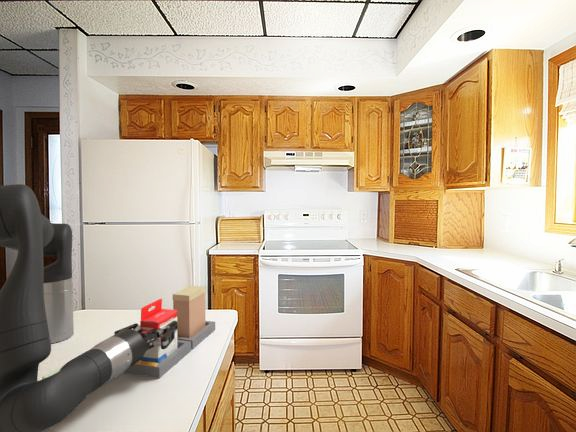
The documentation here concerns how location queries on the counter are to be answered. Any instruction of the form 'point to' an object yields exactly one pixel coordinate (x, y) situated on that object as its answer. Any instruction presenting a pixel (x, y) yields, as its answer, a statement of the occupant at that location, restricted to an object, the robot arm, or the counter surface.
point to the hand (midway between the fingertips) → (166, 323)
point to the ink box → (158, 320)
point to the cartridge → (190, 310)
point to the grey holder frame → (182, 350)
